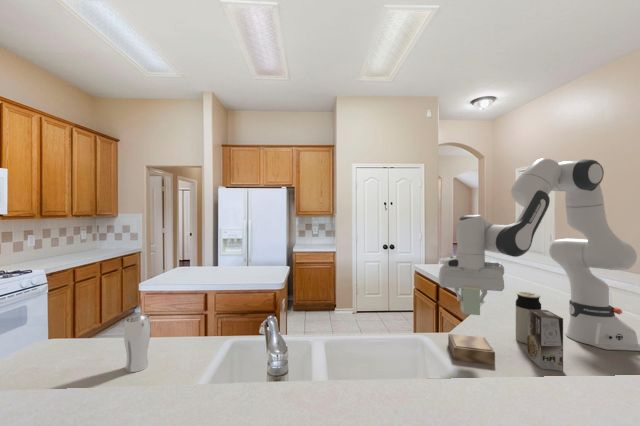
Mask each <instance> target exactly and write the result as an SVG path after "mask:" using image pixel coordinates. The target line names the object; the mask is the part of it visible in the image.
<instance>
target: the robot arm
mask: <svg viewBox="0 0 640 426" xmlns="http://www.w3.org/2000/svg"><path fill="white" fill-rule="evenodd" d="M604 172H605V171H604V167H603V166H602V164H600V162H598V161H597V160H594V159H586V158H585V159H580V160H575V159H574V160H566V161H565V160H564V161H560V162H557V161H556V160H554V159H550V158H540V159H539V158H538V159H537V160H534V162H533V163H531V164H530V165H529V166H528V167H527V168H525V170H524V171H522V173H521V174H519V177H517V178H516V180H515V181H514V183H513V185H512V187H511V190H510V193H511V196H512V198H513V200H514V201H515V202H516V203H517V204H518V205H520V206H521V207H523V208H522V211H521V213H520V214H519V217H518V218H517V220H516V221H515V222H513V223H510V224H494V223H493V222H490V221H488V220H486V219H485V218H484V216H483V215H482V214H468V215H467V214H466V215H462V216H461V217H459V218H458V221H457V225H456V236H455V239H456V243H457V244H456V245H457V247H456V251H455V252H456V253H455V255H452V256H448V257H444V258H442V260H441V261H442V265H441V267H440V268H439V272H438V284H439V286H440V287H441V288H448V289H450V288H451V289H452V288H453V291H454V292H455V294H456V301H457V302H461V301H463V300H462V299H463V296H462V295H461V294H460V293H459V292H460V289H461V288H462V289H463V286H465V287H479V288H480V304H484V299H485V297H486V296H487V294H488V291H491V292H492V291H493V292H502V291H504V289H505V280H504V274H505V267H504V266H503V265H502V264H500V263H499V262H489V261H487V262H486V254H485V253H486V252H492V253H497V254H501V255H502V254H503V255H506V256H510V257H514V258H517V257H521V256H523V255H525V254H526V253H528V251H529V250H530V249H531V248H532V247H531V246H532V243H533V239H534V237H535V234H536V232H537V229H538V228H539V226H540V224H541V223H542V221H543V218H544V217H545V215H546V213H547V211H548V209H549V206H550V202H551V201H550V196H549V195H550V193H551V192H565V194H564V195H565V196H564V197H565V198H564V199H565V210H566V211H565V212H566V221H567V225H569V227H570V228H572V229H573V230H575V231H578V232H580V233H581V234H582V235H584V237H585V238H573V237H569V238H568V237H566V238H559V239H554V240H553V241H552V242H551V243H550V245H549V249H548V252H549V255H550V257H551V259H552V260H553V261H554V262H556V264H558V265H559V266H560V268H562V269H563V270H564V272H565V274H566V275H567V277H568V280H569V281H568V282H569V288H570V290H569V291H570V299H569V307H568V309H569V322H568V326H567V329H566V331H565V335H566V337H568V338H570V339H572V340H573V341H577V342H579V343H583V344H585V345H589V346H593V347H597V348H599V349H602V350H607V351H608V350H610V351H611V350H614V351H632V352H633V351H637V352H638V351H639V352H640V341H639V340H638V335H637V332H636V331H635V329H634V328H632V327H631V326H630V325H628V324H627V323H626V322H624V321H623V320H621V319H620V318H618V317H617V316H616V314H617V315H622V314H623V310H622V309H621V308H618V307H613V306H612V305H610V287H609V285H608V284H607V282H605V280H603V279H602V278H600V277H598V276H596V275H594V274H593V273H592V271H591V270H590V268H592V269H593V268H594V269H601V270H608V271H609V270H610V271H618V270H620V271H621V270H622V271H623V270H625V271H626V270H629V269H631V268H632V267H633V266H634V265H635V264H636V263H637V259H638V255H637V252H636V250H635V249H634V247H633V246H632V245H631V244H630V243H628V242H626V241H624V240H622V239H621V238H620V237H618V236H617V235H616V234H615V233H614V231H613V230H612V229H611V228H610V226H609V223H608V221H607V220H608V219H607V215H606V209H605V200H604V195H603V194H604V193H603V190H602V187H601V185H600V184H601V182H602V181H603V179H604V174H605V173H604ZM485 251H486V252H485Z"/></svg>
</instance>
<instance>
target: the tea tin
mask: <svg viewBox="0 0 640 426" xmlns="http://www.w3.org/2000/svg"><path fill="white" fill-rule="evenodd" d="M460 295H462V296H463V299H462V300H463V301H460V311H461V312H462V314H463V315H472V316H481V303H480V296H481V290H480V288H479V287H465V286H463V289H462V288H460Z"/></svg>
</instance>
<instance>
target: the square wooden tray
mask: <svg viewBox="0 0 640 426" xmlns="http://www.w3.org/2000/svg"><path fill="white" fill-rule="evenodd" d="M447 337H448V342H447V343H448V345H447V346H448V347H449V349H450V352H451V356H452V358H453V360H454V361H458V362H459V361H460V362H467V363H468V362H469V363H477V364H483V365H484V364H485V365H490V366H491V365H492V366H495V365H496V352H495V350H494V349H493V348H492V346H491V345H490V343H489V342H488V340H487V339H486V337H482V336H472V335H466V334H454V333H448V335H447Z"/></svg>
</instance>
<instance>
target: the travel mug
mask: <svg viewBox="0 0 640 426" xmlns="http://www.w3.org/2000/svg"><path fill="white" fill-rule="evenodd" d="M516 295H517V298H516V299H515V340H516V341H518V342H520V343H522V344H524V345H528V343H527V342H528V341H527V309H531V310H542V304H541V302H540V298H541V295H540V294H537V293H535V292H529V291H517V292H516Z"/></svg>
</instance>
